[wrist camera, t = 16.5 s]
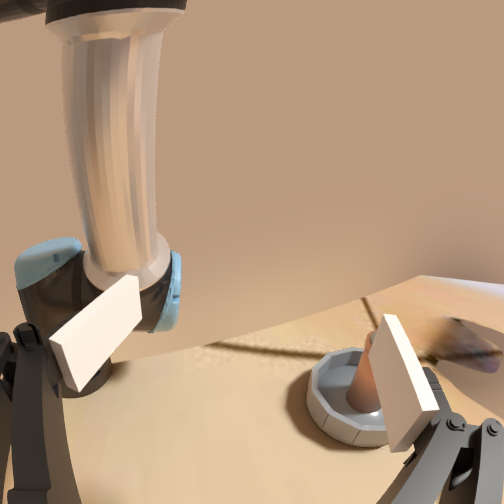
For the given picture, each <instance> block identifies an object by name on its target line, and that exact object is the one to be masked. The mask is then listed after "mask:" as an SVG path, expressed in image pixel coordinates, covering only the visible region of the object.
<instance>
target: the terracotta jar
mask: <svg viewBox="0 0 504 504" xmlns="http://www.w3.org/2000/svg"><path fill="white" fill-rule="evenodd" d="M376 333H377V330H374V331H372V332H370V333H369V334H368V335H367V338H366V340H365V349H364V351H363V354H362V357H361V359H360V362H359V364H358V367H357V369H356V372H355V374H354V376H353V379H352V381H351V384H350V386H349V388H348V390H347V393H346V400H347V402H348V404H349V405H350V406H351V407H352V408H353V409H354V410H356V411H358V412H361V413H374V412H377V411H379V410H380V409H381V405H380V400H379V396H378V392H377V388H376V384H375V380H374V376H373V372H372V368H371V365H370V361H369V357H368V354H369V351H370V349H371V346H372V344H373V341H374V338H375V336H376ZM409 342H410V341H409ZM410 344H411V343H410ZM411 346H412V344H411ZM412 348H413V347H412Z"/></svg>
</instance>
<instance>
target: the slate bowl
mask: <svg viewBox="0 0 504 504" xmlns="http://www.w3.org/2000/svg"><path fill="white" fill-rule="evenodd" d="M363 351H364V349H362V348H353V347H352V348H351V347H350V348H346V349H342V350H338V351H334V352H330V353H327V354H326V355H325V356H324V357H323V358H322V359H321V360H320V361H319V362H318V363H317V364H316V365H315V366H314V367H313V368H312V372H311V375H310V379H309V382H308V391H307V395H306V403H307V408H308V411H309V414H310V415H311V417H312V419H313V420H314V422H315V423H316V424H317V426H318V427H319V428H320V429H321V430H322V431H324V432H325V433H326V434H327V435H329V436H331V437H332V438H334V439H336V440H338V441H340V442H342V443H345V444H348V445H352V446H357V447H378V446H383V445H386V444H389V442H388V437H387V432H386V427H385V422H384V418H383V413H382V409H380V410H379V411H377V412H374V413H361V412H358V411H356V410H354V409H353V408H352V407H351V406H350V405H349V404H348V402H347V400H346V393H347V390H348V388H349V386H350V384H351V381H352V379H353V376H354V374H355V372H356V369H357V367H358V364H359V362H360V359H361V357H362V354H363Z"/></svg>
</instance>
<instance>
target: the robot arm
mask: <svg viewBox="0 0 504 504" xmlns="http://www.w3.org/2000/svg"><path fill="white" fill-rule="evenodd" d="M186 2H187V0H0V23H3V22H7V21H12V20H17V19H22V18H26V17H29V16H33V15H36V14H40V13H44V12H46V20H45V29H46V30H47V31H49V32H50V33H51V34H52V35H54V36H55V37H56V38H57V39H59V41H60V42H61V44H62V57H61V58H62V62H61V64H62V66H61V68H62V69H61V70H62V98H63V112H64V123H65V133H66V141H67V148H68V154H69V161H70V167H71V173H72V179H73V183H74V188H75V194H76V198H77V203H78V207H79V211H80V216H81V219H82V224H83V227H84V231H85V235H86V239H87V242H88V247H87V249H86V251H82V250H81V249H82V245H81V243H80V241H79V240H78V239H77V238H73V237H63V238H57V239H52V240H49V241H45V242H42V243H40V244H37V245H35V246H32V247H31V248H29V249H27V250H25V251H24V252H23V253H21V254H20V255H19V256H18V258H17V260H16V261H15V266H14V270H15V277H16V283H17V285H16V288H17V289H18V293H19V297H20V300H21V304H22V307H23V311H24V314H25V317H26V320H27V322H25V323H22V324H20V325H18V326H17V327H16V328H15V329H14V331H13V333H14V336H15V338H16V341H17V343H13V342H12V341H11V339H10V336H9V335H8V333H6V332H0V376H1V373H2V375H3V379H2V380H1V379H0V504H2V499H3V489H4V480H5V473H6V467H7V461H8V455H9V450H10V445H11V447H12V466H13V477H14V488H13V489H10V490H9V491H8V493H7V500H8V504H82V503H81V500H80V497H79V493H78V489H77V486H76V482H75V478H74V473H73V469H72V464H71V460H70V454H69V449H68V443H67V437H66V430H65V423H64V414H63V405H62V397H67V398H75V397H81V396H85V395H88V394H90V393H93V392H95V391H96V390H98V389H99V388H100V387H102V386H103V385H104V384H105V383H106V381H107V380H108V378H109V376H110V374H111V370H112V363H111V359H110V355H111V354H112V353H113V352H114V350H115V349H116V348H117V347H118V346H119V345H120V343H121V342H122V341H123V340H124V339H125V338H126V337H127V335H128V334H129V333H130V332H131V331H139V332H148V333H154V332H161V331H169V330H171V329H172V328H174V327H175V325H176V322H177V319H178V311H179V302H180V300H179V296H180V290H181V271H182V269H181V268H182V267H181V266H182V265H181V256H180V254H178V253H177V252H173V251H171V250H170V249H169V246H168V243H167V241H166V240H165V238H164V237H163V236H162V235H161V234H160V233H158V232H157V223H156V203H155V202H156V200H155V122H156V99H157V85H158V73H159V61H160V52H161V43H162V35H163V33H164V31H165V29H166V28H167V27H168V26H170V25H171V24H172V23H173V22H175V21H176V20H177V19H178V18H180V17H181V16H182V15H184V13H185V8H186ZM368 357H369V361H370V365H371V368H372V372H373V376H374V380H375V384H376V388H377V392H378V396H379V400H380V405H381V409H382V413H383V418H384V422H385V427H386V432H387V437H388V442H389V447H390V453H394V452H405V451H407V450H408V449H409V448H410V447H411V446H412V444H414V448H415V451H414V452H413V453H412V454H411V456H410V457H409V458H408V459H407V460H406V461H405V462H404V463H403V464H405V465H404V467H403V468H402V470H401V471H400V473H399V474H398V476H397V477H396V478H395V480H394V481H393V483H392V484H391V485H390V487H389V488H388V489H387V491H386V492H385V493H384V495H383V496H382V497H381V498H380V500H379V501H378V502H377V503H376V504H434V503H435V501H436V499H437V497H438V495H439V493H440V491H441V490H442V488H443V490H442V494H441V498H440V502H439V504H501V502H502V494H503V483H504V428H503V426H502V424H501V423H500V422H499V421H498V420H496V419H493V418H488V419H486V420H485V421H484V422H483V423H482V424H481V426H476V425H469V424H467V422H466V420H465V419H464V418H463V417H462V416H461V415H460V414H457V413H454V412H452V410H451V408H450V406H449V403H448V401H447V399H446V397H445V394H444V392H443V390H442V388H441V386H440V384H439V381H438V379H437V377H436V375H435V374H434V373H433V372H432V371H431V370H430V369H429V367H421V365H420V363H419V361H418V358H417V356H416V354H415V352H414V350H413V348H412V346H411V344H410V342H409V340H408V338H407V336H406V334H405V332H404V330H403V328H402V326H401V324H400V322H399V320H398V318H397V316H396V315H388V314H383V316H382V319H381V322H380V325H379V327H378V330H377V333H376V336H375V338H374V341H373V344H372V346H371V349H370V351H369V354H368Z"/></svg>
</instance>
